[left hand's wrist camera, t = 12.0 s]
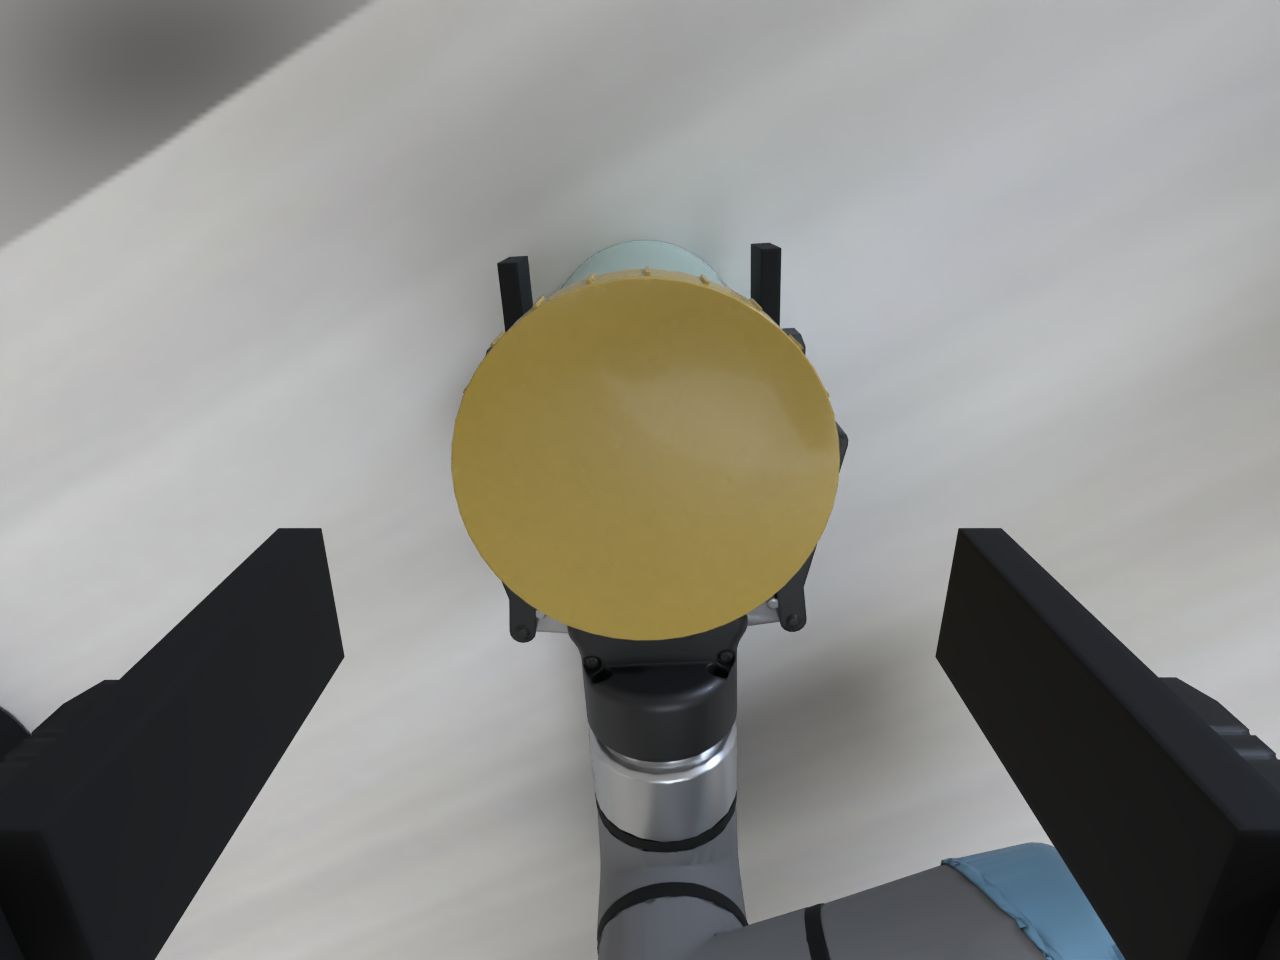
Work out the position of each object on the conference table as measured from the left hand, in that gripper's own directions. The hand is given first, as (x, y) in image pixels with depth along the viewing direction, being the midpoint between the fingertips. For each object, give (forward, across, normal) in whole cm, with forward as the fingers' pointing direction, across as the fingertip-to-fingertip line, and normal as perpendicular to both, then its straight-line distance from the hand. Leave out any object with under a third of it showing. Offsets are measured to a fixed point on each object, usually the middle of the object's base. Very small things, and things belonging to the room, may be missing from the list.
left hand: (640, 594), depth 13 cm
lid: (+6, 0, 0) cm, 6 cm away
